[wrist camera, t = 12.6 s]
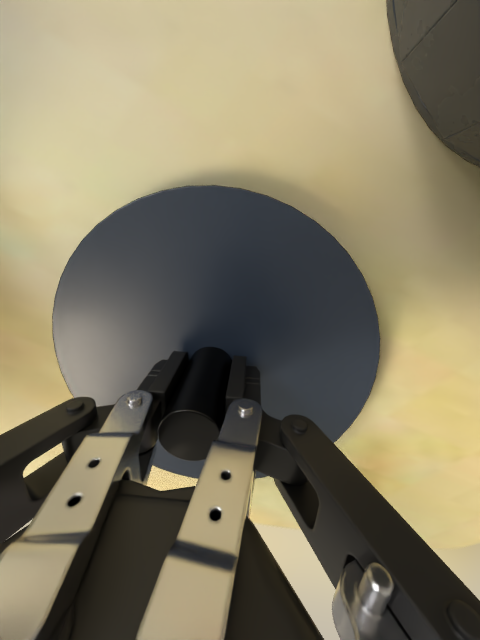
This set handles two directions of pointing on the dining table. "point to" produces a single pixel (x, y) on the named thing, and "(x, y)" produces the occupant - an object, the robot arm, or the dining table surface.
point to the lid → (217, 313)
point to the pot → (441, 66)
